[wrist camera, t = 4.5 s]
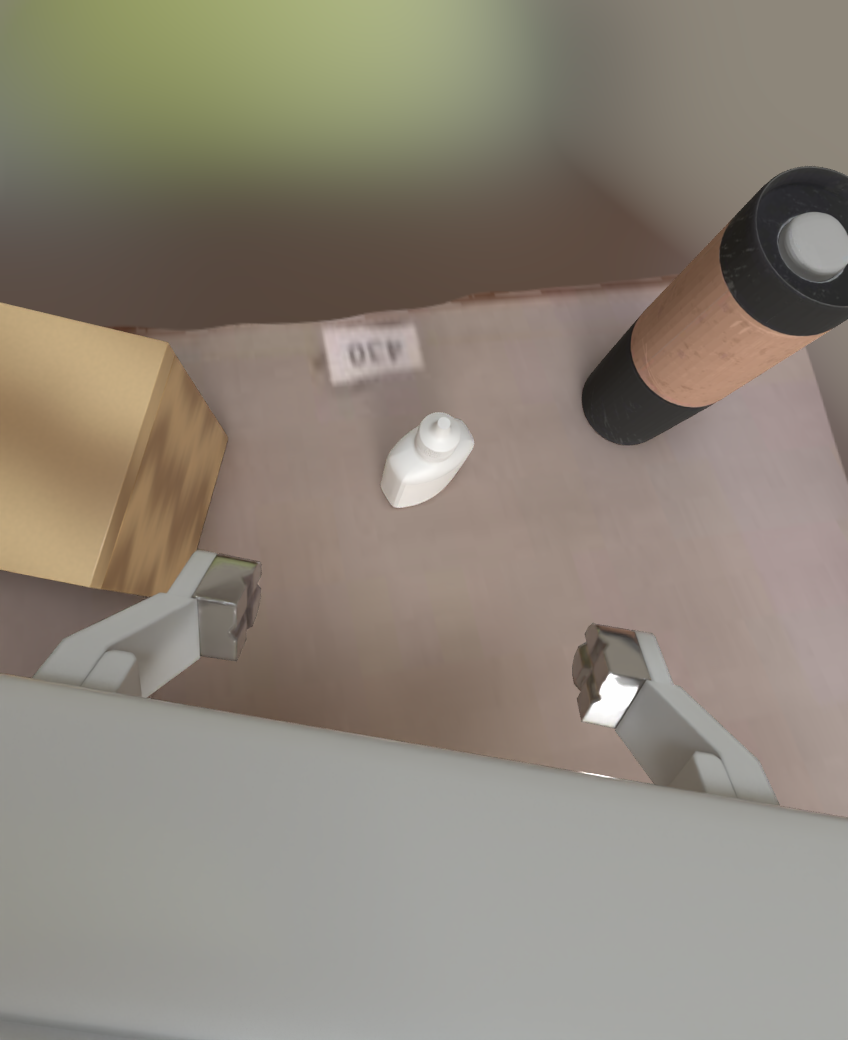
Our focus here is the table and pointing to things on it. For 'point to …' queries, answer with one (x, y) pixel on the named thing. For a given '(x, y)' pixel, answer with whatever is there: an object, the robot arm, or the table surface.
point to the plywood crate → (100, 455)
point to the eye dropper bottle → (425, 460)
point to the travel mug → (731, 309)
